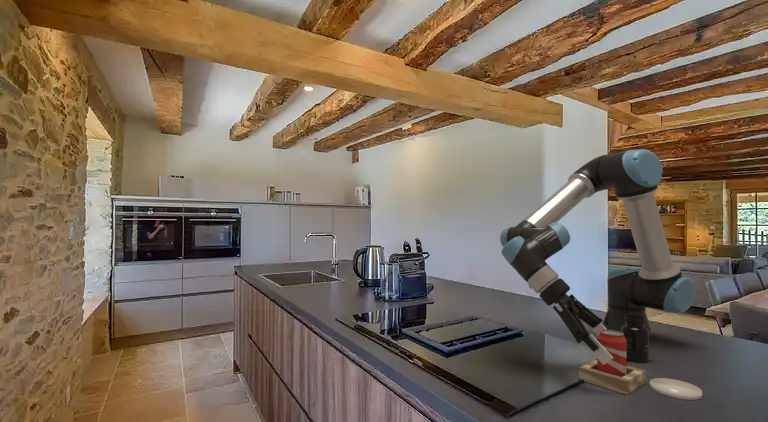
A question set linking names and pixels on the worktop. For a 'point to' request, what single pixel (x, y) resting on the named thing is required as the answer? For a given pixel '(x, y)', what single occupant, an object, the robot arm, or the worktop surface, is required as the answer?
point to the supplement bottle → (636, 339)
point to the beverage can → (613, 352)
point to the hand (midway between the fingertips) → (612, 354)
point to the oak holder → (612, 378)
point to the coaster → (676, 388)
